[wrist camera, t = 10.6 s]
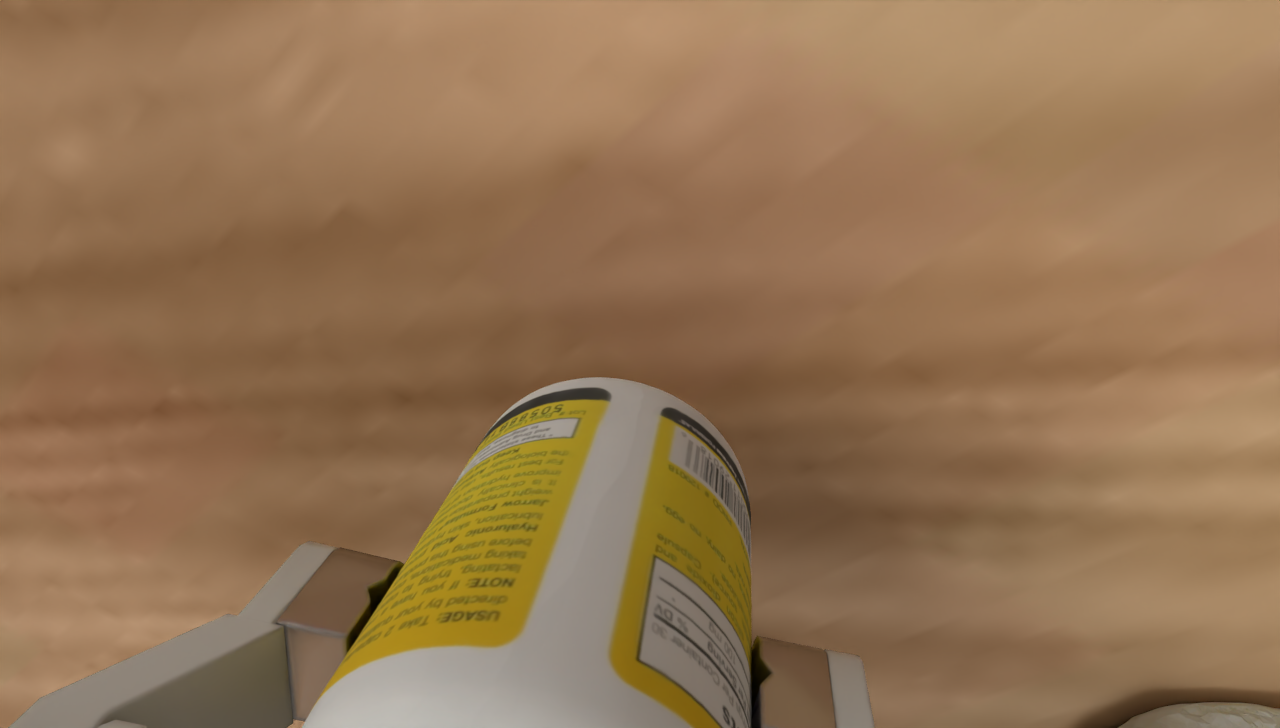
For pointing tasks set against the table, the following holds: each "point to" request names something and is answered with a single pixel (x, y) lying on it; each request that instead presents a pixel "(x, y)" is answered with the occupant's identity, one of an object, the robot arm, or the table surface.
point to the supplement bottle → (569, 579)
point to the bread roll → (1208, 716)
